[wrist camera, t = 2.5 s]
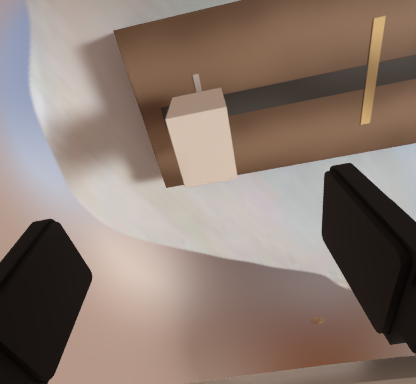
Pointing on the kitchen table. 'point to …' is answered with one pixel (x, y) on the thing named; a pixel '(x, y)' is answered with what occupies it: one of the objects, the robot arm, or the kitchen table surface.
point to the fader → (202, 137)
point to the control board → (282, 77)
